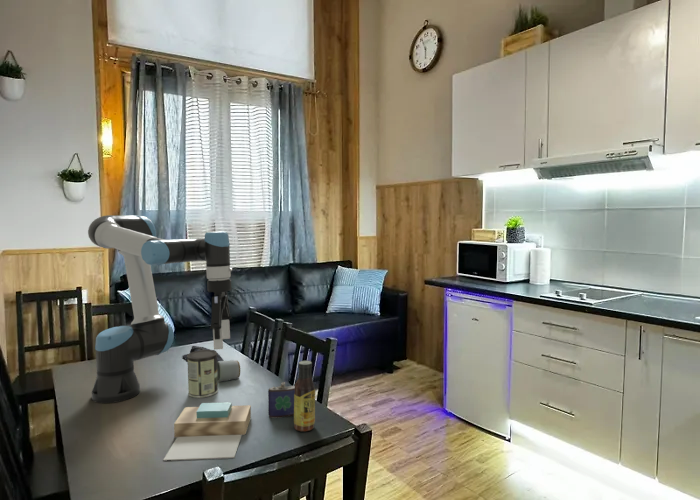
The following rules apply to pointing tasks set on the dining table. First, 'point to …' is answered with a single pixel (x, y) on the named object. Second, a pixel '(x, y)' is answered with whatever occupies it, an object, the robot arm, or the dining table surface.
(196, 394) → the coffee can
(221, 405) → the teal rectangular block
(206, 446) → the mat
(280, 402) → the flask
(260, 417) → the dining table surface
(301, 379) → the sauce bottle
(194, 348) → the dark slate chunk
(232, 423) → the tan flat rectangular slab
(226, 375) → the ceramic mug
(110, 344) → the robot arm
